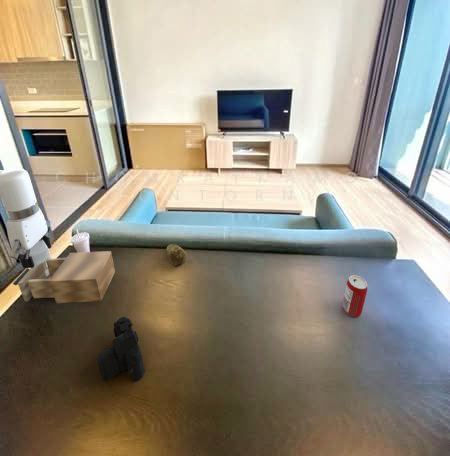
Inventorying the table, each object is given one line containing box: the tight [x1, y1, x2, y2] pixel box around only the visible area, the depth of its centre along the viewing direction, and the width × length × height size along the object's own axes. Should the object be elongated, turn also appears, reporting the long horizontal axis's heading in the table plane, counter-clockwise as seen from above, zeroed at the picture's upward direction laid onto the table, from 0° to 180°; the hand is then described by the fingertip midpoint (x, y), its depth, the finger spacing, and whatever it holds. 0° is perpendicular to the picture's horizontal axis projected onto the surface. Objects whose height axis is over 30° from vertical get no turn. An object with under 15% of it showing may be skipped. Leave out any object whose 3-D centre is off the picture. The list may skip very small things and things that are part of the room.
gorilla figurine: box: [96, 316, 146, 383], centre depth 64 cm, size 15×10×9 cm, turn 36°
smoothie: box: [70, 228, 91, 253], centre depth 99 cm, size 6×6×14 cm
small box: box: [22, 240, 52, 267], centre depth 80 cm, size 6×6×5 cm
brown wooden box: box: [49, 250, 116, 304], centre depth 86 cm, size 15×13×10 cm
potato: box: [165, 243, 188, 268], centre depth 97 cm, size 8×13×8 cm, turn 9°
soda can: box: [341, 274, 368, 318], centre depth 77 cm, size 6×6×12 cm
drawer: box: [12, 257, 67, 302], centre depth 86 cm, size 18×11×8 cm, turn 93°
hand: (38, 256), depth 80 cm, fingers closed on small box, 7 cm apart
